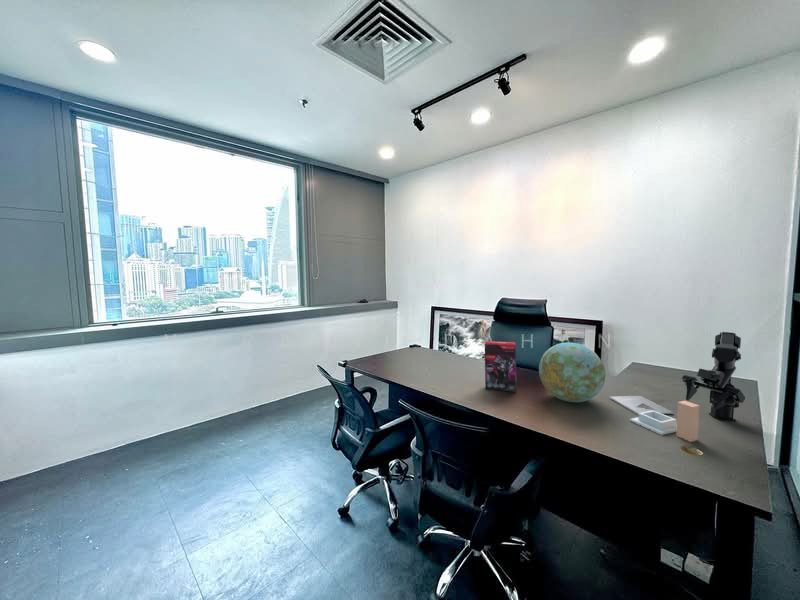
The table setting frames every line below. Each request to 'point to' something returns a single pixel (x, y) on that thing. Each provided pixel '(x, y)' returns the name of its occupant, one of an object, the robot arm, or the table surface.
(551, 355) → the decorative globe
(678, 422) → the tall salmon pillar
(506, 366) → the graphics card box
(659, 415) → the white square socket base
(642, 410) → the play button award
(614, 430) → the table surface
